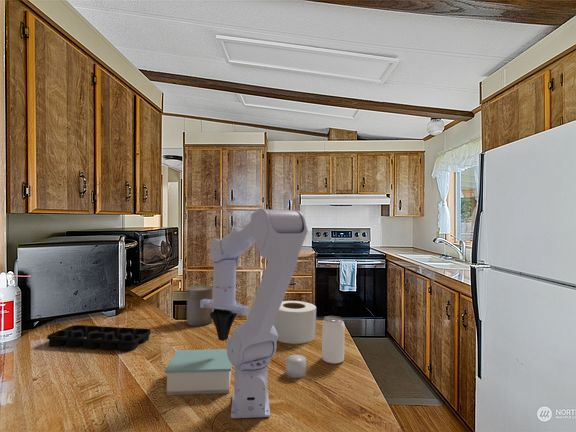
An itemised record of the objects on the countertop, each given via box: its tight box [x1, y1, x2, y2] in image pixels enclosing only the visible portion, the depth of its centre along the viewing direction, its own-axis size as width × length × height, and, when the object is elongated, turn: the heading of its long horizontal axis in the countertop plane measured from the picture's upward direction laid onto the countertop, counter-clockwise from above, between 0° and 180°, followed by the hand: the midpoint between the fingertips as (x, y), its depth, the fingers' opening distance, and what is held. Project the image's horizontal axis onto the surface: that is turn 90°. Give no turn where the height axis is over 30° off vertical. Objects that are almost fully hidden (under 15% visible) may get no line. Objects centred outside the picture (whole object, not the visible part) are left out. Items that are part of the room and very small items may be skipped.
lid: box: [164, 348, 233, 374], centre depth 82 cm, size 12×15×1 cm
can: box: [321, 315, 346, 365], centre depth 98 cm, size 6×6×12 cm
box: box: [166, 367, 233, 396], centre depth 83 cm, size 12×14×5 cm
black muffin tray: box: [46, 324, 152, 353], centre depth 107 cm, size 18×30×4 cm, turn 96°
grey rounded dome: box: [285, 354, 307, 379], centre depth 88 cm, size 5×5×4 cm
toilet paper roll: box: [273, 300, 317, 345], centre depth 117 cm, size 16×15×11 cm
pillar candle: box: [186, 284, 213, 327], centre depth 130 cm, size 10×10×15 cm
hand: (223, 339), depth 85 cm, fingers closed
